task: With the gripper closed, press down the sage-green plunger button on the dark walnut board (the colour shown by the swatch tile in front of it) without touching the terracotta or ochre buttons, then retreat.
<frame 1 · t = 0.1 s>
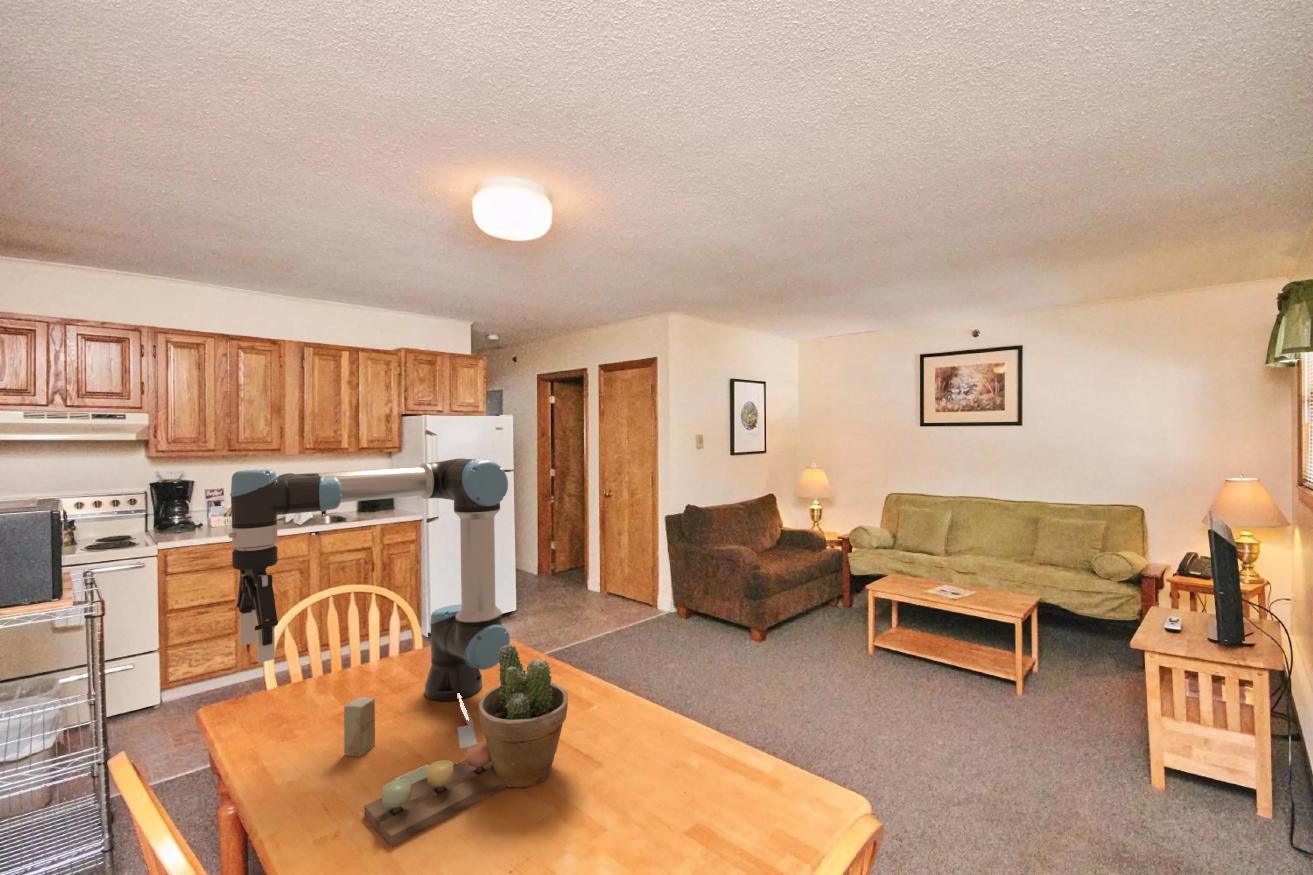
hand: (257, 651, 117), 28 cm above the table, fingers open, 13 cm apart
box: (360, 750, 132), on the table
button ochre: (440, 778, 114), point 4 cm above the table, slide at 0.0 cm
button green: (396, 798, 108), point 4 cm above the table, slide at 0.0 cm
potted plant: (523, 772, 123), on the table, touching board, button terracotta
swatch: (418, 780, 120), on the table
button terracotta: (479, 759, 120), point 4 cm above the table, slide at -0.1 cm, touching potted plant
board: (440, 799, 114), on the table
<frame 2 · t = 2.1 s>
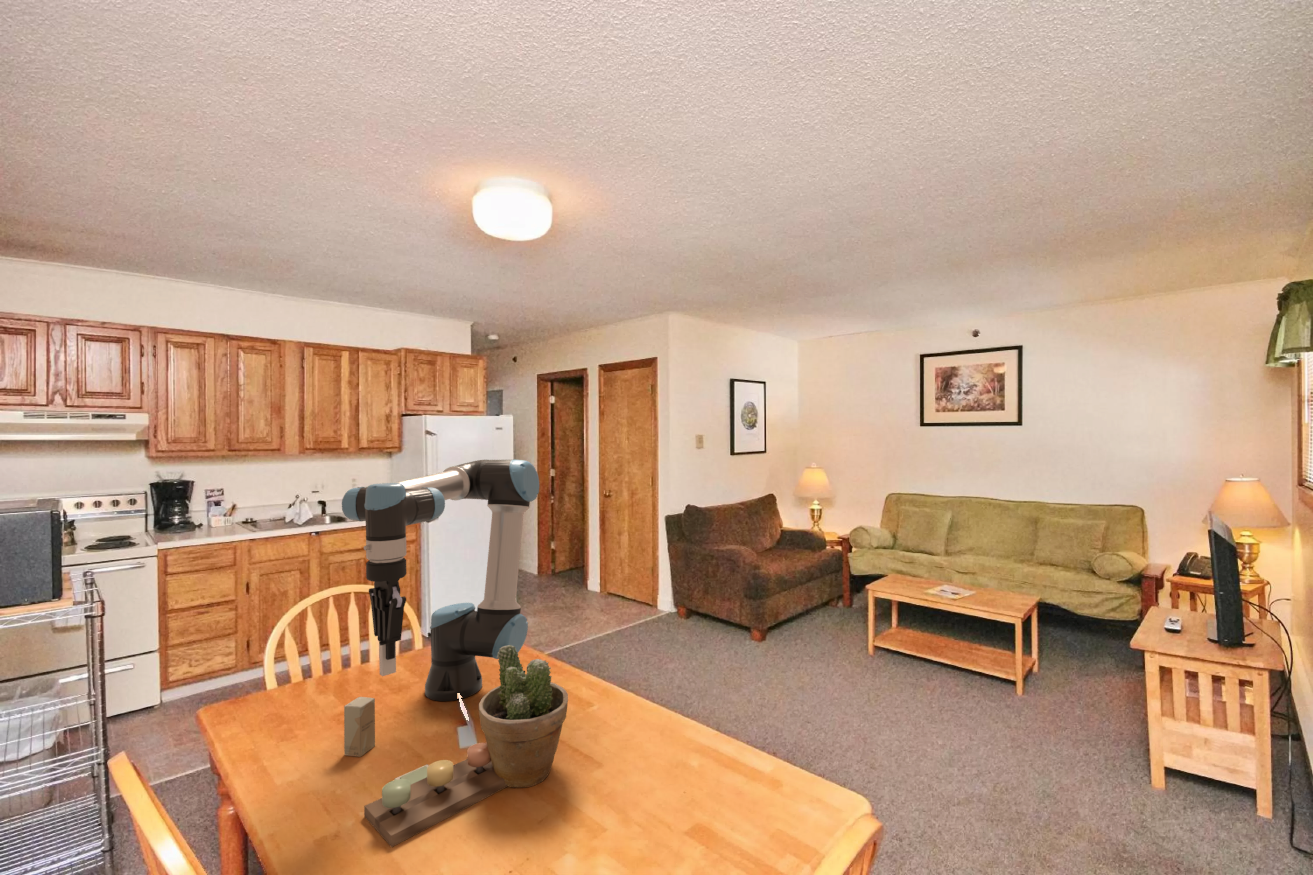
hand: (387, 672, 120), 22 cm above the table, fingers closed
nothing on the table moved.
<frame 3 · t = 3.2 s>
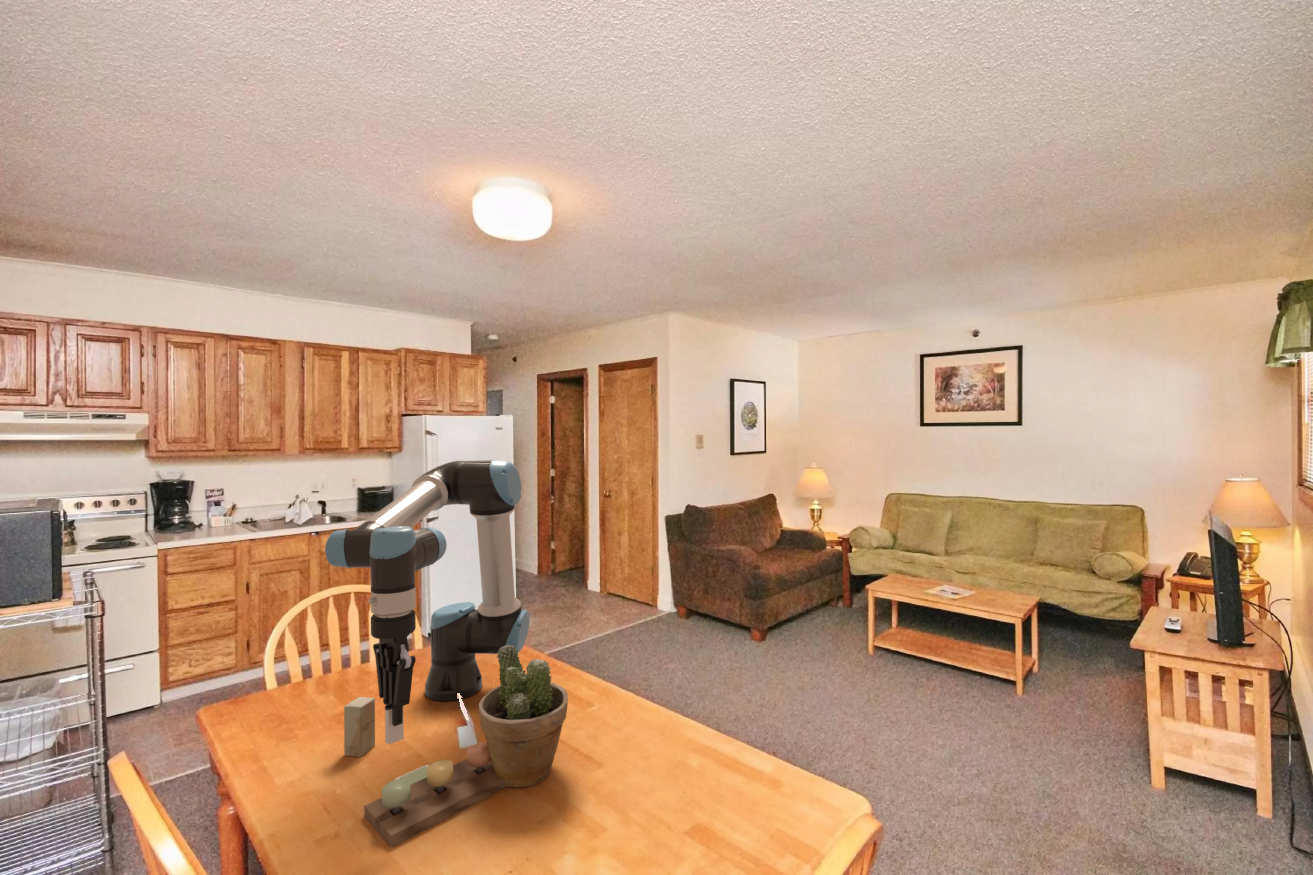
hand: (394, 740, 107), 15 cm above the table, fingers closed
nothing on the table moved.
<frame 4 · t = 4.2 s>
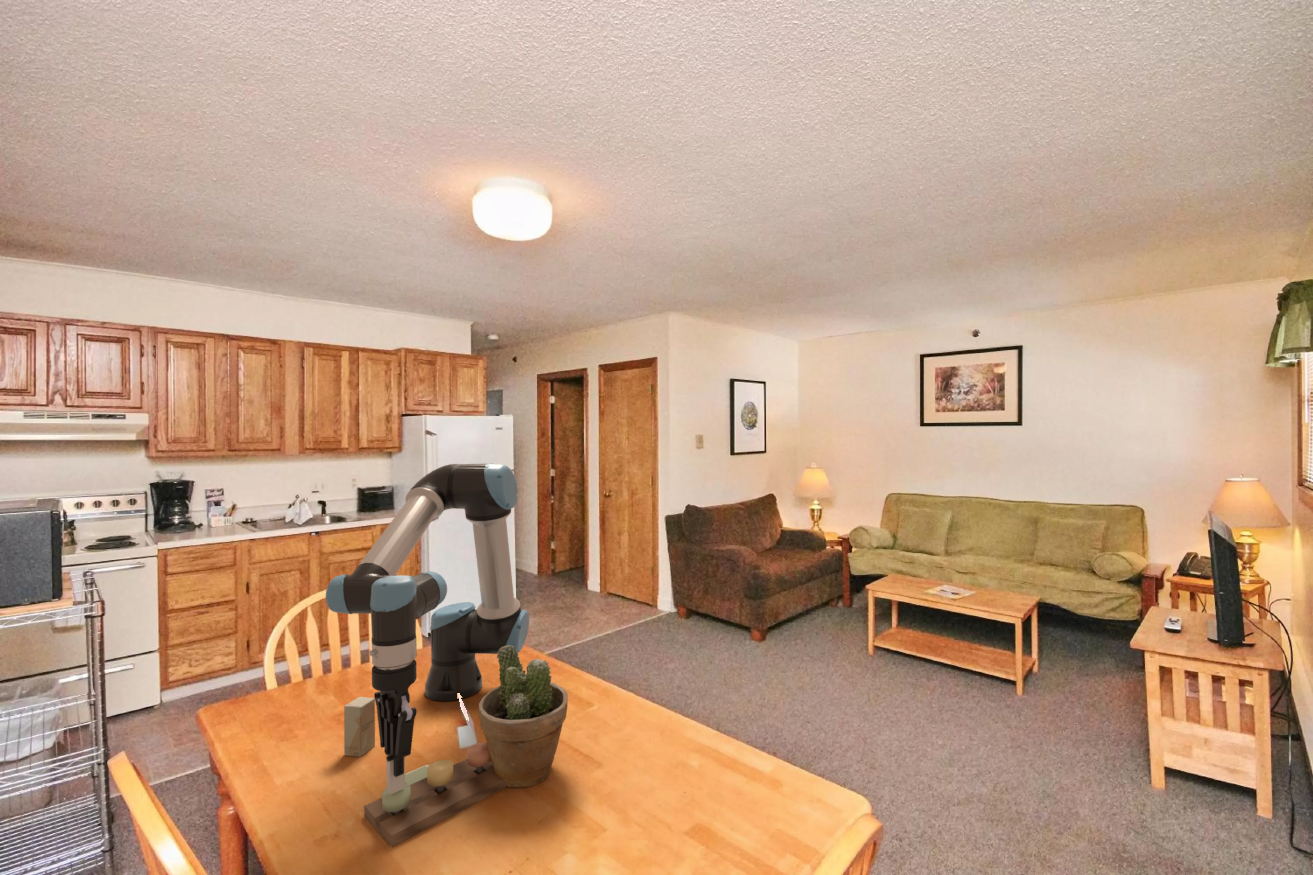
hand: (395, 789, 107), 6 cm above the table, fingers closed
button green: (396, 802, 108), point 3 cm above the table, slide at 0.8 cm, touching gripper
everything else where it was.
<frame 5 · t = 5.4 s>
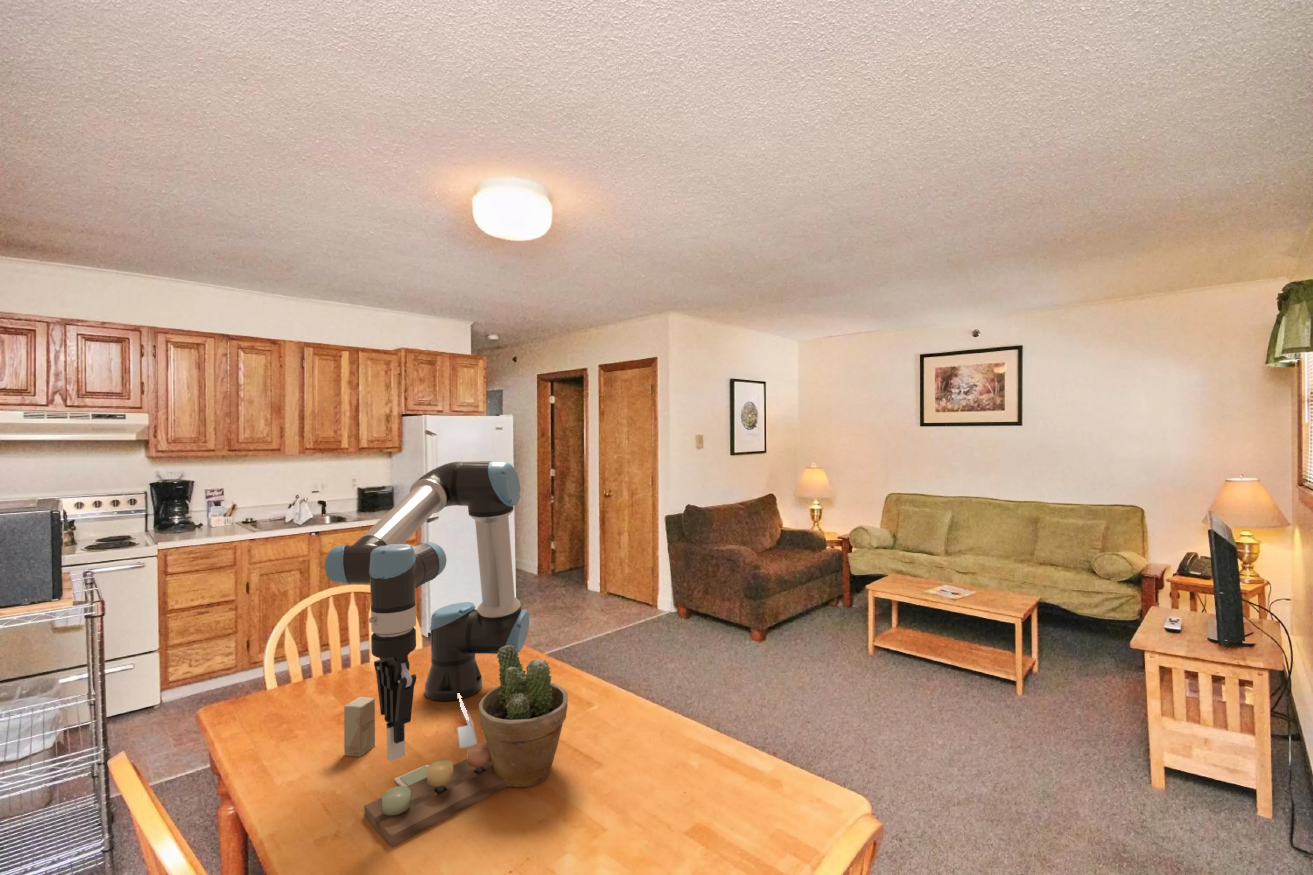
hand: (396, 756, 108), 12 cm above the table, fingers closed
button green: (396, 806, 108), point 3 cm above the table, slide at 1.4 cm
everything else where it was.
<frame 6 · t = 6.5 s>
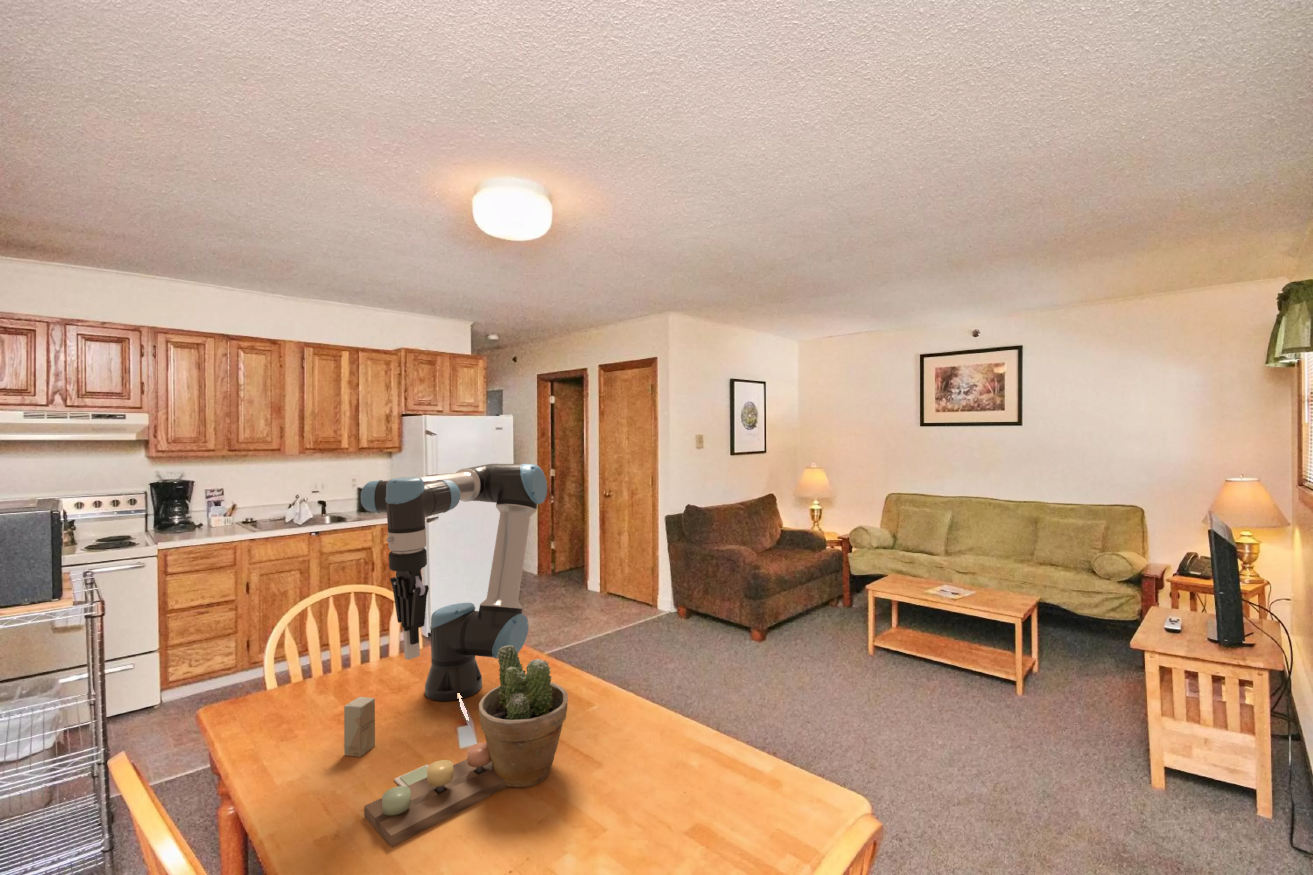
hand: (412, 656, 126), 23 cm above the table, fingers closed
nothing on the table moved.
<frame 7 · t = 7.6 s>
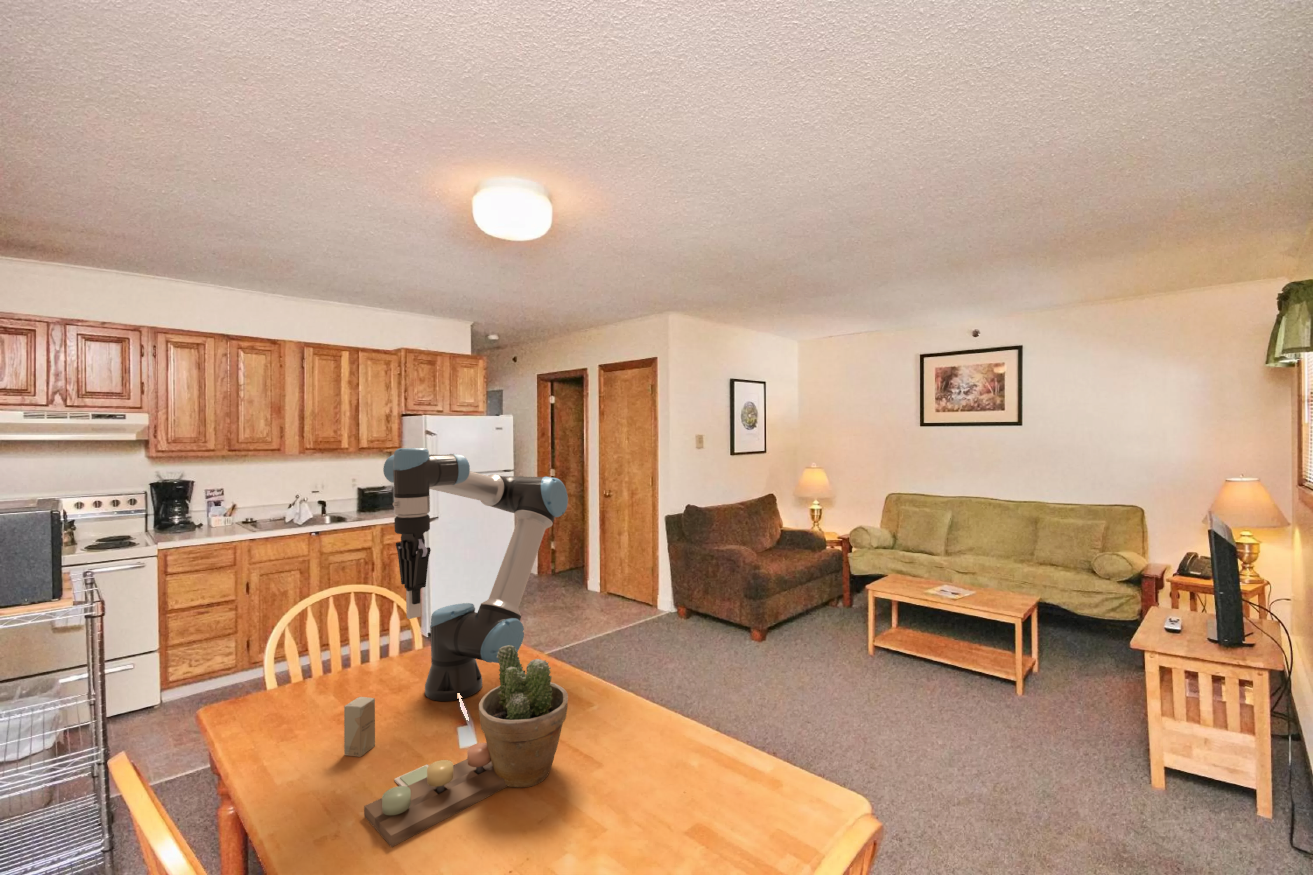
hand: (413, 616, 134), 29 cm above the table, fingers closed
nothing on the table moved.
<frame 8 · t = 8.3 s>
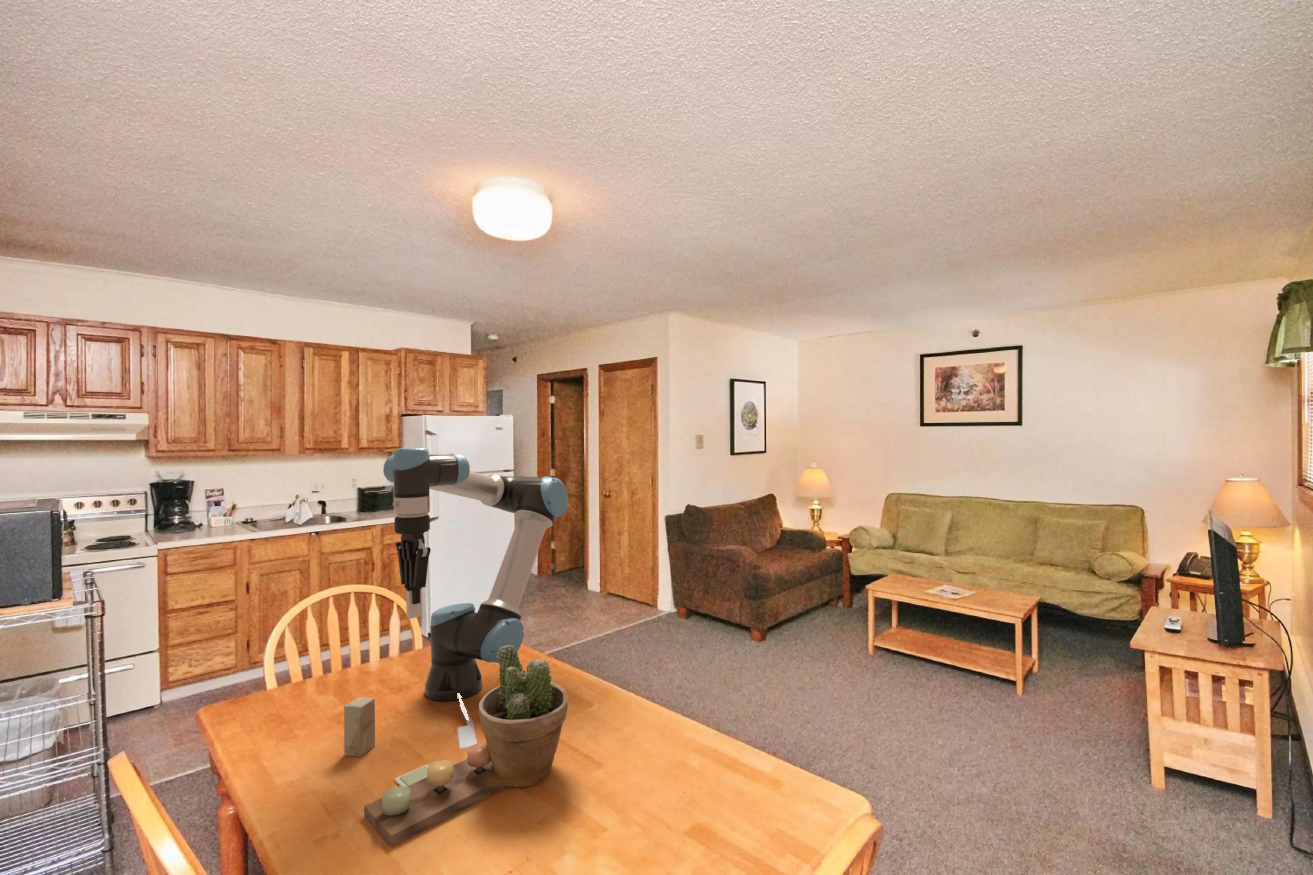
hand: (413, 616, 134), 29 cm above the table, fingers closed
nothing on the table moved.
at the end: button green slide at 1.4 cm; button terracotta slide at 0.0 cm; button ochre slide at 0.0 cm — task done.
